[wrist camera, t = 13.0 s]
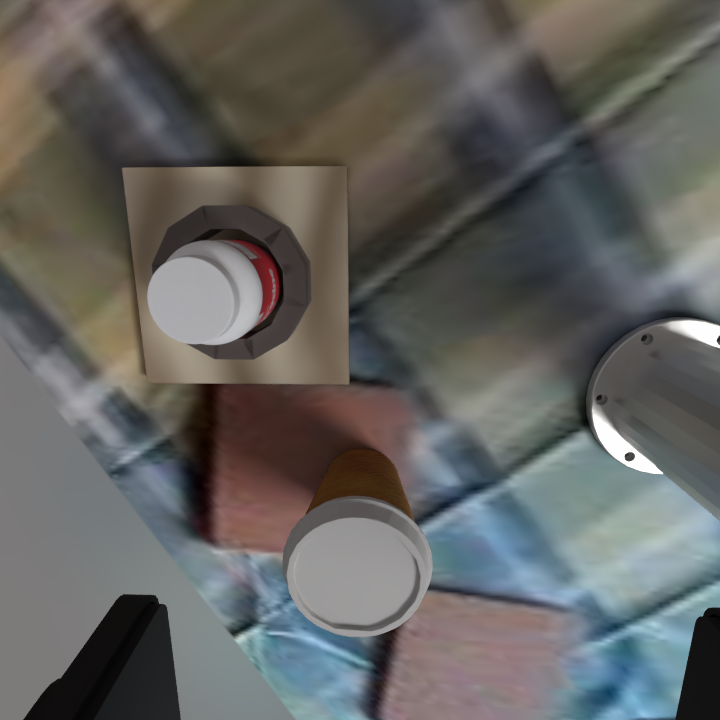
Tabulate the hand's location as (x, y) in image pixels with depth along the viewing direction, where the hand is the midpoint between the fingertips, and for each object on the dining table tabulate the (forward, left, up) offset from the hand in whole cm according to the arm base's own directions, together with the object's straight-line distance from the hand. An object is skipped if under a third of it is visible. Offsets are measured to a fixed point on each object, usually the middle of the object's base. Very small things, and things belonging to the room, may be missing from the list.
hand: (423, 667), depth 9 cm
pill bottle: (+11, -4, -30) cm, 32 cm away
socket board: (+11, -4, -30) cm, 32 cm away
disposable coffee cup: (+2, +13, -31) cm, 33 cm away
